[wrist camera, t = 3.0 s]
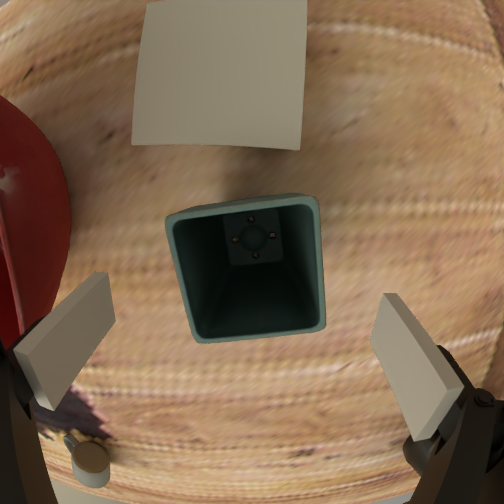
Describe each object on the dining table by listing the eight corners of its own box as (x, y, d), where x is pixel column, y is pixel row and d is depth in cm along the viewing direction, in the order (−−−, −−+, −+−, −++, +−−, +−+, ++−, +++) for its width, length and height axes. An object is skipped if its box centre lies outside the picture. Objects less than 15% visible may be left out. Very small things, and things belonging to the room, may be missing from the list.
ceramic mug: (115, 449, 40) (101, 481, 32) (115, 466, 42) (103, 495, 35) (64, 424, 39) (46, 452, 32) (68, 443, 42) (54, 469, 34)
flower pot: (299, 178, 24) (319, 194, 16) (309, 276, 27) (327, 332, 19) (195, 192, 25) (161, 216, 16) (214, 287, 28) (194, 345, 19)
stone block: (298, 30, 20) (307, 0, 14) (291, 150, 23) (299, 150, 18) (170, 29, 20) (147, 2, 14) (160, 145, 24) (131, 145, 18)
